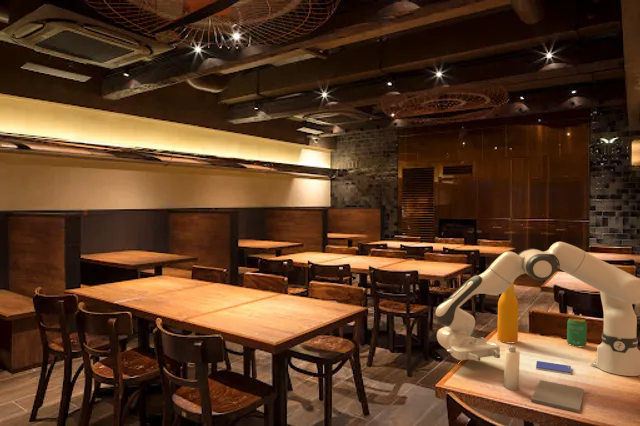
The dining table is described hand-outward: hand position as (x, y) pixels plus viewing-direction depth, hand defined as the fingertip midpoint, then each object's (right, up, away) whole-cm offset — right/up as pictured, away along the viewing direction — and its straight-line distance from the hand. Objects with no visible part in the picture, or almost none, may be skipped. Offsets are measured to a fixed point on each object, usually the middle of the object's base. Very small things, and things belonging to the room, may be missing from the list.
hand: (488, 357), depth 175 cm
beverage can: (+56, -7, +41) cm, 70 cm away
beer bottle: (+26, -7, +45) cm, 53 cm away
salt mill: (+4, -7, -11) cm, 14 cm away
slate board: (+17, -8, -18) cm, 26 cm away
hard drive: (+29, -8, +9) cm, 31 cm away
